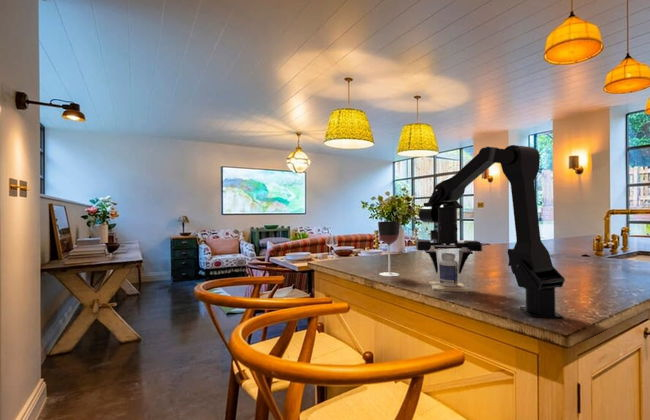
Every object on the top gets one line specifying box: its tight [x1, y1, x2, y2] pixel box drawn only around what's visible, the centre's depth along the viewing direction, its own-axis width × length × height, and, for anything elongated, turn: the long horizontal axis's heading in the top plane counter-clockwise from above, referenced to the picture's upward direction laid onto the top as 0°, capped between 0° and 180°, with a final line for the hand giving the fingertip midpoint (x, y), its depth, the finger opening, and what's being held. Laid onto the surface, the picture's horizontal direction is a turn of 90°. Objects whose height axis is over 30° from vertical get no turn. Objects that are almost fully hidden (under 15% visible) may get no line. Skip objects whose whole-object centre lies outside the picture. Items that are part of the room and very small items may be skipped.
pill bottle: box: [438, 252, 459, 287], centre depth 100 cm, size 5×5×10 cm
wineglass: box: [377, 221, 401, 277], centre depth 123 cm, size 8×9×20 cm
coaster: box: [428, 281, 470, 293], centre depth 101 cm, size 10×10×1 cm
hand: (448, 273), depth 101 cm, fingers open, 6 cm apart
